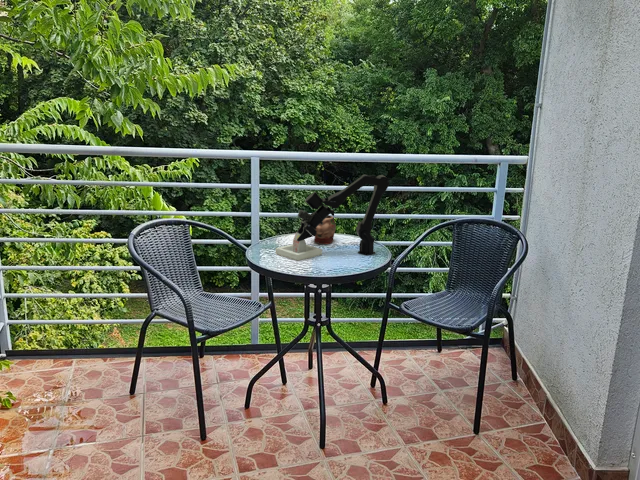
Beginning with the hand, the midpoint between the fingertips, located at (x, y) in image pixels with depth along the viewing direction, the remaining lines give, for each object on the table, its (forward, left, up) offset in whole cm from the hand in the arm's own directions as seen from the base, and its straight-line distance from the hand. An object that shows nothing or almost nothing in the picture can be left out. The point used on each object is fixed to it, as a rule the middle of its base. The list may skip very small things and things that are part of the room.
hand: (296, 238), depth 270 cm
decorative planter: (+9, -28, -8) cm, 31 cm away
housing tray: (-1, -1, -8) cm, 8 cm away
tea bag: (-1, -1, -8) cm, 8 cm away
